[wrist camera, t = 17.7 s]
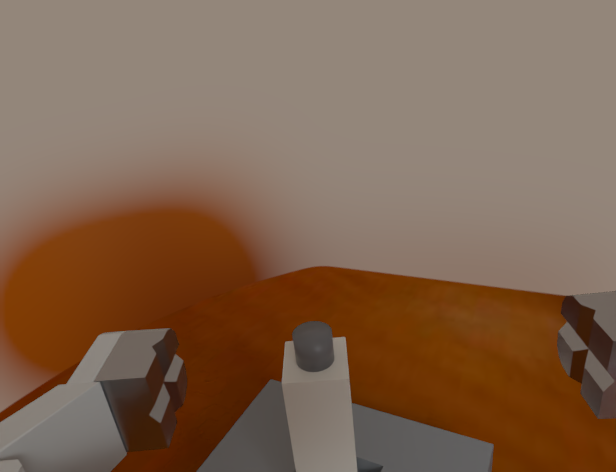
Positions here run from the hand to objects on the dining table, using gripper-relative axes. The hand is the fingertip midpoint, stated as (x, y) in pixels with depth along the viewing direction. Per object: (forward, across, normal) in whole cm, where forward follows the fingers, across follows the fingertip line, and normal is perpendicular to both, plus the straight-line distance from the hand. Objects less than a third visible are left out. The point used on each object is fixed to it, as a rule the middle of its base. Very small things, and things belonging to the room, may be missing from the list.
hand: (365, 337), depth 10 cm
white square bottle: (+16, +3, +28) cm, 33 cm away
